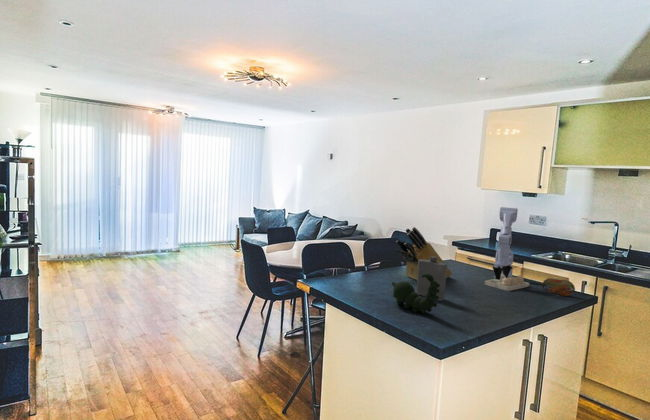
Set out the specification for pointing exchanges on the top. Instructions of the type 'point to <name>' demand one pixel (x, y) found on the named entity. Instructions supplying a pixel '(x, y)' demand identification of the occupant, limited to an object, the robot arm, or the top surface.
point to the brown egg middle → (513, 280)
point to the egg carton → (499, 285)
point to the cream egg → (501, 277)
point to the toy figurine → (416, 295)
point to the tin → (558, 286)
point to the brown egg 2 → (520, 279)
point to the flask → (436, 271)
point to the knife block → (417, 252)
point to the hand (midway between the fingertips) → (501, 278)
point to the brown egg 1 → (506, 282)
